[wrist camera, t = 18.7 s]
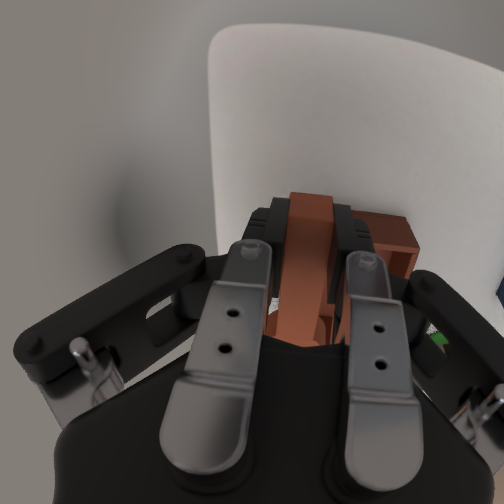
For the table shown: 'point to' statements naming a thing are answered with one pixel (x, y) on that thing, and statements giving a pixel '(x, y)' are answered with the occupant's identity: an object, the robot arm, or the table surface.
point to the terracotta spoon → (304, 271)
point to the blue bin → (501, 293)
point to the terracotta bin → (382, 252)
